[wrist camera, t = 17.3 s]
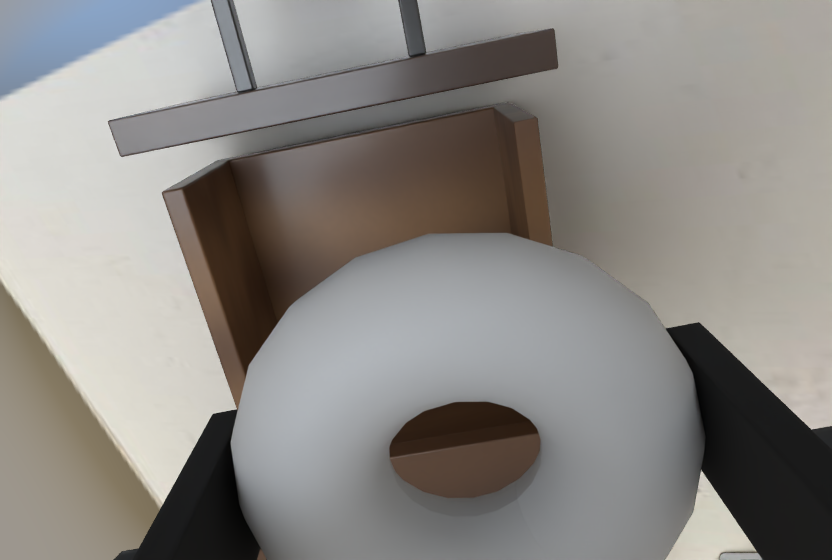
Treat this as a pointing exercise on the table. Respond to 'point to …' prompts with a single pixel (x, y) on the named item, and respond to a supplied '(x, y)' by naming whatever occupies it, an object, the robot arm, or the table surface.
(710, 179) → the table surface
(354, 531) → the donut
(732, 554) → the ink box
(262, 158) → the drawer
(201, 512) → the robot arm
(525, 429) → the cabinet
